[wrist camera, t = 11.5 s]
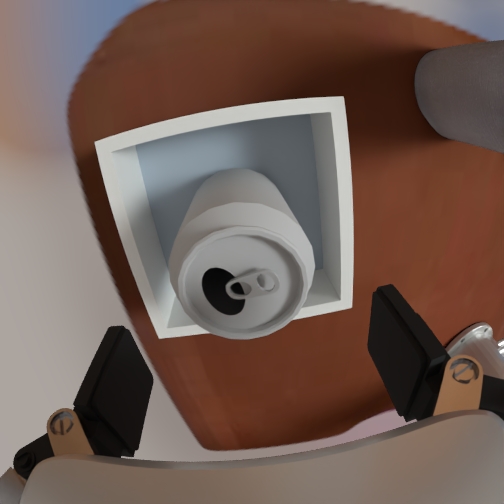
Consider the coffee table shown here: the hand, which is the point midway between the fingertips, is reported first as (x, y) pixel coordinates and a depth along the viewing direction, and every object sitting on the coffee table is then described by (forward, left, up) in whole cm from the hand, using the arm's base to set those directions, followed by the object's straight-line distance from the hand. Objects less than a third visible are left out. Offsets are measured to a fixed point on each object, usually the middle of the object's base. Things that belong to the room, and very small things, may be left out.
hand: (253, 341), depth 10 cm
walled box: (0, 0, -16) cm, 16 cm away
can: (0, 0, -15) cm, 15 cm away
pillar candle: (-22, -9, -16) cm, 29 cm away
